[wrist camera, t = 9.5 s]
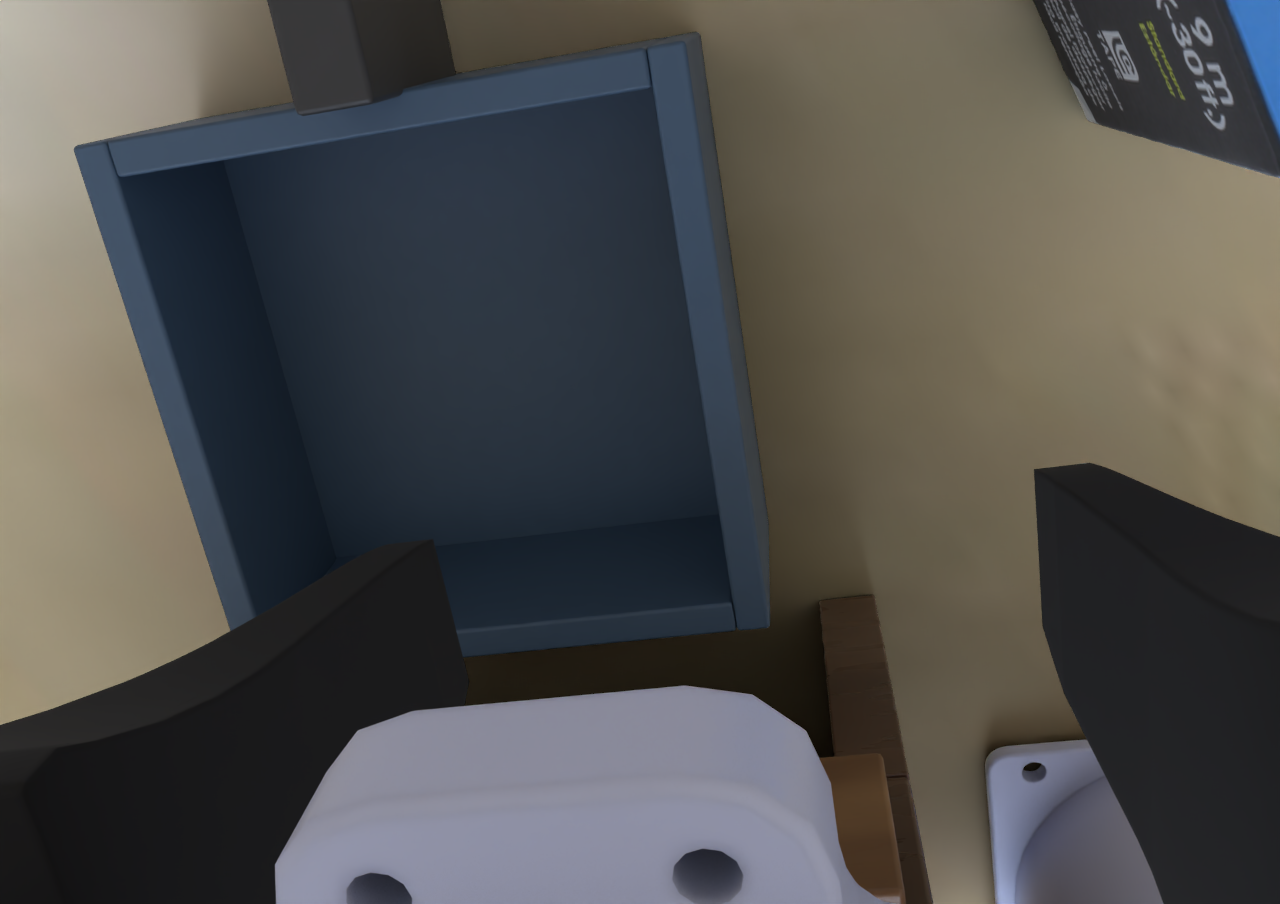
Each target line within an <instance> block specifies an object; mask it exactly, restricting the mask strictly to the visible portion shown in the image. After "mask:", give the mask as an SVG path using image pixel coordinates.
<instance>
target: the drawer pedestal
mask: <svg viewBox="0 0 1280 904" xmlns="http://www.w3.org/2000/svg"><path fill="white" fill-rule="evenodd" d="M819 607H820V617H821V627H822V638H823V648H824V658H825V669H826V679H827V689H828V699H829V710H830V720H831V730H832V741H833V751H834V757H822V758H819V759H820V761H821V763H822V765H823V767H824V770H825V772H826V774H827V776H828V778H829V780H830V782H831V788H832V796H833V803H834V811H835V818H836V826H837V833H838V841H839V845H840V848H841V851H842V855H843V858H844V861H845V865H846V868H847V869H848V871H849V872H850V874H851V875H852V877H853V878H854V880H855V882H856V883H857V884H858V885H859V886H861V887H862V888H863V889H865V890H866V891H868V892H869V893H871V894H872V895H873V896H875V897H876V898H878V899H880V900H882V901H885V902H890V903H895V904H933V901H932V895H931V890H930V885H929V880H928V874H927V869H926V864H925V859H924V853H923V848H922V843H921V838H920V832H919V827H918V822H917V816H916V811H915V806H914V801H913V795H912V790H911V785H910V781H909V773H908V768H907V763H906V758H905V752H904V747H903V742H902V737H901V731H900V726H899V721H898V716H897V710H896V705H895V700H894V695H893V689H892V684H891V679H890V674H889V668H888V663H887V658H886V653H885V647H884V642H883V637H882V632H881V626H880V621H879V616H878V611H877V605H876V600H875V596H874V595H868V596H858V597H848V598H839V599H829V600H821V601H820V602H819Z"/></svg>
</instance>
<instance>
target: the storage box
mask: <svg viewBox="0 0 1280 904" xmlns="http://www.w3.org/2000/svg"><path fill="white" fill-rule="evenodd" d="M267 2H268V5H269V9H270V13H271V17H272V21H273V25H274V29H275V32H276V36H277V40H278V44H279V48H280V52H281V56H282V60H283V63H284V67H285V71H286V75H287V79H288V83H289V87H290V90H291V94H292V98H293V102H291V103H286V104H280V105H274V106H269V107H263V108H257V109H251V110H246V111H240V112H234V113H228V114H223V115H217V116H211V117H206V118H200V119H195V120H190V121H186V122H181V123H177V124H172V125H168V126H163V127H159V128H154V129H149V130H145V131H140V132H136V133H131V134H127V135H122V136H118V137H113V138H109V139H104V140H100V141H95V142H90V143H86V144H81V145H77V146H76V147H75V148H74V152H75V155H76V158H77V161H78V164H79V167H80V171H81V174H82V177H83V180H84V183H85V186H86V189H87V192H88V195H89V198H90V201H91V204H92V207H93V210H94V213H95V217H96V220H97V223H98V226H99V229H100V232H101V235H102V238H103V241H104V244H105V247H106V250H107V253H108V256H109V259H110V262H111V266H112V269H113V272H114V275H115V278H116V281H117V284H118V287H119V290H120V293H121V296H122V299H123V302H124V305H125V308H126V311H127V315H128V318H129V321H130V324H131V327H132V330H133V333H134V336H135V339H136V342H137V345H138V348H139V351H140V354H141V357H142V361H143V364H144V367H145V370H146V373H147V376H148V379H149V382H150V385H151V388H152V391H153V394H154V397H155V400H156V403H157V406H158V410H159V413H160V416H161V419H162V422H163V425H164V428H165V431H166V434H167V437H168V440H169V443H170V446H171V449H172V452H173V455H174V459H175V462H176V465H177V468H178V471H179V474H180V477H181V480H182V483H183V486H184V489H185V492H186V495H187V498H188V501H189V505H190V508H191V511H192V514H193V517H194V520H195V523H196V526H197V529H198V532H199V535H200V538H201V541H202V544H203V547H204V550H205V554H206V557H207V560H208V563H209V566H210V569H211V572H212V575H213V578H214V581H215V584H216V587H217V590H218V593H219V596H220V600H221V603H222V606H223V609H224V612H225V615H226V618H227V621H228V624H229V627H230V630H231V631H232V630H233V629H235V628H237V627H239V626H241V625H242V624H244V623H246V622H248V621H249V620H251V619H253V618H255V617H257V616H258V615H260V614H262V613H264V612H265V611H267V610H269V609H271V608H273V607H274V606H276V605H278V604H279V603H281V602H283V601H284V600H286V599H288V598H289V597H291V596H292V595H294V594H296V593H297V592H299V591H301V590H302V589H304V588H306V587H307V586H309V585H311V584H312V583H314V582H316V581H317V580H319V579H321V578H322V577H324V576H326V575H327V574H329V573H331V572H332V571H334V570H336V569H337V568H339V567H341V566H343V565H344V564H346V563H348V562H349V561H351V560H353V559H355V558H357V557H359V556H361V555H363V554H364V553H366V552H368V551H371V550H373V549H375V548H378V547H381V546H383V545H386V544H394V543H403V542H411V541H420V540H429V539H433V541H434V545H435V549H436V553H437V556H438V560H439V564H440V568H441V572H442V576H443V580H444V584H445V588H446V592H447V596H448V600H449V604H450V608H451V612H452V616H453V620H454V624H455V628H456V632H457V636H458V639H459V643H460V647H461V651H462V655H463V658H465V657H475V656H485V655H495V654H505V653H516V652H526V651H536V650H546V649H557V648H567V647H577V646H587V645H597V644H608V643H618V642H628V641H638V640H648V639H659V638H669V637H679V636H689V635H700V634H710V633H720V632H730V631H735V630H736V627H737V628H738V630H751V629H762V628H768V627H769V626H770V582H769V521H768V514H767V507H766V500H765V493H764V486H763V478H762V471H761V464H760V457H759V450H758V443H757V436H756V429H755V421H754V414H753V407H752V400H751V393H750V386H749V379H748V371H747V364H746V357H745V350H744V343H743V336H742V329H741V322H740V314H739V307H738V300H737V293H736V286H735V279H734V272H733V264H732V257H731V250H730V243H729V236H728V229H727V222H726V215H725V207H724V200H723V193H722V186H721V179H720V172H719V165H718V157H717V150H716V143H715V136H714V129H713V122H712V115H711V107H710V100H709V93H708V86H707V79H706V72H705V65H704V58H703V50H702V43H701V36H700V34H699V33H698V32H692V33H687V34H681V35H675V36H669V37H664V38H658V39H652V40H646V41H641V42H635V43H629V44H624V45H618V46H612V47H606V48H601V49H595V50H589V51H583V52H578V53H572V54H566V55H561V56H555V57H549V58H543V59H538V60H532V61H526V62H521V63H515V64H509V65H503V66H498V67H492V68H486V69H480V70H475V71H469V72H463V73H458V74H456V73H455V68H454V63H453V59H452V54H451V49H450V45H449V40H448V35H447V30H446V26H445V21H444V16H443V11H442V7H441V2H440V0H267Z"/></svg>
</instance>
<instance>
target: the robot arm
mask: <svg viewBox="0 0 1280 904" xmlns="http://www.w3.org/2000/svg"><path fill="white" fill-rule="evenodd" d="M1034 478H1035V496H1036V515H1037V533H1038V551H1039V569H1040V587H1041V606H1042V624H1043V629H1044V632H1045V635H1046V639H1047V642H1048V645H1049V648H1050V652H1051V655H1052V658H1053V661H1054V664H1055V667H1056V670H1057V673H1058V676H1059V679H1060V682H1061V685H1062V688H1063V691H1064V694H1065V696H1066V698H1067V700H1068V702H1069V704H1070V706H1071V709H1072V711H1073V713H1074V715H1075V717H1076V719H1077V721H1078V723H1079V725H1080V727H1081V729H1082V731H1083V733H1084V735H1085V737H1086V739H1085V740H1072V741H1060V742H1048V743H1036V744H1024V745H1012V746H1004V747H1000V748H997V749H995V750H994V751H992V752H991V753H990V754H989V756H988V757H987V759H986V762H985V775H986V788H987V800H988V813H989V826H990V839H991V852H992V864H993V877H994V890H995V903H996V904H1280V537H1278V536H1275V535H1272V534H1269V533H1266V532H1263V531H1260V530H1258V529H1255V528H1252V527H1249V526H1246V525H1243V524H1241V523H1238V522H1235V521H1232V520H1229V519H1227V518H1224V517H1222V516H1219V515H1216V514H1214V513H1211V512H1209V511H1206V510H1204V509H1201V508H1199V507H1196V506H1194V505H1192V504H1189V503H1187V502H1185V501H1182V500H1180V499H1178V498H1175V497H1173V496H1171V495H1168V494H1166V493H1164V492H1161V491H1159V490H1157V489H1155V488H1152V487H1150V486H1148V485H1146V484H1143V483H1141V482H1139V481H1137V480H1134V479H1132V478H1130V477H1127V476H1125V475H1123V474H1120V473H1118V472H1116V471H1113V470H1111V469H1108V468H1105V467H1102V466H1099V465H1096V464H1092V463H1085V464H1077V465H1068V466H1059V467H1051V468H1042V469H1034ZM468 685H469V679H468V675H467V671H466V667H465V663H464V659H463V655H462V651H461V647H460V643H459V639H458V636H457V632H456V628H455V624H454V620H453V616H452V612H451V608H450V604H449V600H448V596H447V592H446V588H445V584H444V580H443V576H442V572H441V568H440V564H439V560H438V556H437V553H436V549H435V545H434V541H433V539H429V540H420V541H411V542H403V543H394V544H386V545H383V546H381V547H378V548H375V549H373V550H371V551H368V552H366V553H364V554H363V555H361V556H359V557H357V558H355V559H353V560H351V561H349V562H348V563H346V564H344V565H343V566H341V567H339V568H337V569H336V570H334V571H332V572H331V573H329V574H327V575H326V576H324V577H322V578H321V579H319V580H317V581H316V582H314V583H312V584H311V585H309V586H307V587H306V588H304V589H302V590H301V591H299V592H297V593H296V594H294V595H292V596H291V597H289V598H288V599H286V600H284V601H283V602H281V603H279V604H278V605H276V606H274V607H273V608H271V609H269V610H267V611H265V612H264V613H262V614H260V615H258V616H257V617H255V618H253V619H251V620H249V621H248V622H246V623H244V624H242V625H241V626H239V627H237V628H235V629H233V630H232V631H230V632H228V633H226V634H224V635H223V636H221V637H219V638H217V639H216V640H214V641H212V642H210V643H208V644H206V645H204V646H202V647H200V648H198V649H196V650H194V651H192V652H190V653H188V654H186V655H184V656H182V657H180V658H178V659H176V660H174V661H171V662H169V663H167V664H165V665H163V666H160V667H158V668H156V669H154V670H151V671H149V672H147V673H145V674H143V675H140V676H138V677H136V678H133V679H131V680H128V681H126V682H124V683H121V684H118V685H116V686H113V687H110V688H107V689H105V690H102V691H99V692H97V693H94V694H91V695H88V696H86V697H83V698H80V699H78V700H75V701H72V702H70V703H67V704H64V705H61V706H59V707H56V708H53V709H50V710H47V711H44V712H41V713H38V714H35V715H31V716H28V717H25V718H22V719H18V720H15V721H12V722H9V723H5V724H2V725H0V904H895V903H890V902H885V901H882V900H880V899H878V898H876V897H875V896H873V895H872V894H871V893H869V892H868V891H866V890H865V889H863V888H862V887H861V886H859V885H858V884H857V883H856V882H855V880H854V878H853V877H852V875H851V874H850V872H849V871H848V869H847V868H846V865H845V861H844V858H843V855H842V851H841V848H840V845H839V841H838V833H837V826H836V818H835V811H834V803H833V796H832V788H831V782H830V780H829V778H828V776H827V774H826V772H825V770H824V767H823V765H822V763H821V761H820V759H819V757H818V755H817V753H816V751H815V748H814V746H813V744H812V742H811V740H810V738H809V736H808V734H807V731H806V730H804V729H803V728H801V727H800V726H798V725H797V724H795V723H794V722H793V721H791V720H790V719H788V718H787V717H785V716H784V715H782V714H781V713H779V712H778V711H776V710H775V709H773V708H772V707H770V706H769V705H767V704H766V703H764V702H763V701H761V700H760V699H758V698H757V697H755V696H754V695H753V694H745V693H738V692H730V691H723V690H715V689H708V688H700V687H693V686H674V687H663V688H653V689H642V690H631V691H620V692H610V693H599V694H588V695H578V696H567V697H556V698H545V699H535V700H524V701H513V702H503V703H492V704H481V705H470V706H464V704H465V700H466V695H467V690H468ZM1033 762H1035V763H1040V764H1042V765H1041V766H1040V767H1039V768H1038V769H1037V770H1034V771H1024V770H1023V768H1024V767H1025V766H1026V765H1027V764H1029V763H1033Z"/></svg>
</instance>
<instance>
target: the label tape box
mask: <svg viewBox="0 0 1280 904" xmlns="http://www.w3.org/2000/svg"><path fill="white" fill-rule="evenodd" d="M1033 1H1034V3H1035V6H1036V8H1037V10H1038V13H1039V15H1040V17H1041V20H1042V22H1043V24H1044V26H1045V28H1046V30H1047V32H1048V35H1049V37H1050V40H1051V42H1052V44H1053V46H1054V48H1055V50H1056V53H1057V55H1058V58H1059V60H1060V62H1061V65H1062V67H1063V70H1064V72H1065V73H1066V75H1067V77H1068V79H1069V81H1070V83H1071V85H1072V88H1073V90H1074V92H1075V94H1076V96H1077V99H1078V101H1079V103H1080V105H1081V107H1082V109H1083V112H1084V114H1085V116H1086V119H1087V120H1088V121H1090V122H1093V123H1096V124H1099V125H1102V126H1106V127H1109V128H1112V129H1116V130H1119V131H1122V132H1126V133H1129V134H1132V135H1135V136H1139V137H1143V138H1147V139H1149V140H1152V141H1156V142H1160V143H1163V144H1166V145H1169V146H1172V147H1176V148H1180V149H1185V150H1188V151H1190V152H1193V153H1196V154H1200V155H1203V156H1207V157H1210V158H1213V159H1217V160H1220V161H1223V162H1226V163H1229V164H1232V165H1236V166H1239V167H1243V168H1247V169H1251V170H1254V171H1257V172H1260V173H1263V174H1266V175H1270V176H1274V177H1278V178H1280V0H1033Z"/></svg>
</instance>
